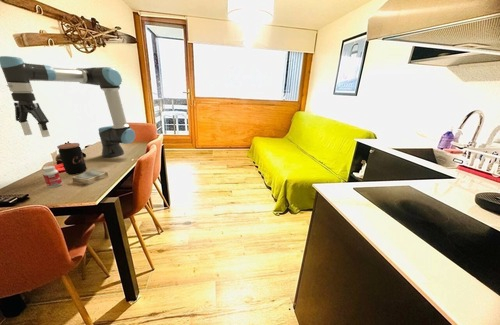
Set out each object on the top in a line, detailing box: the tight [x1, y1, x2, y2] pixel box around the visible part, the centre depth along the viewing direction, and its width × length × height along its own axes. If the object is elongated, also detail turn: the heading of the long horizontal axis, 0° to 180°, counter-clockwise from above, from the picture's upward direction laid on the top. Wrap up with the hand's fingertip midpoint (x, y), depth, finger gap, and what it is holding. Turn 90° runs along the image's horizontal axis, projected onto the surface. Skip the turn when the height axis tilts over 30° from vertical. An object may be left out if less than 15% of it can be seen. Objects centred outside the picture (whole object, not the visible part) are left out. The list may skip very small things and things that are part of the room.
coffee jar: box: [57, 142, 88, 176], centre depth 127 cm, size 11×11×18 cm
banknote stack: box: [71, 169, 109, 186], centre depth 119 cm, size 12×12×3 cm
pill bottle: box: [42, 165, 63, 189], centre depth 110 cm, size 6×6×11 cm
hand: (37, 135), depth 104 cm, fingers open, 13 cm apart
